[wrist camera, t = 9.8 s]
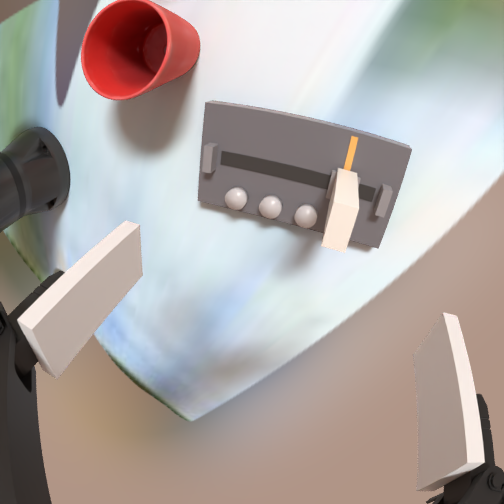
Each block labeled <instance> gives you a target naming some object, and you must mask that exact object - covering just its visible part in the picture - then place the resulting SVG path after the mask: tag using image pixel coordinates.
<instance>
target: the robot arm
mask: <svg viewBox="0 0 504 504" xmlns="http://www.w3.org/2000/svg"><path fill="white" fill-rule="evenodd" d="M69 183H70V176H69V168H68V163H67V159H66V156H65V153H64V151H63V149H62V147H61V145H60V143H59V141H58V140H57V139H56V137H55V136H54V135H53V134H52V133H51V132H50V131H48V130H47V129H45V128H42V127H34V128H32V129H29V130H26V131H24V132H23V133H21V134H20V135H19V136H18V137H17V138H15V139H14V140H13V141H12V142H11V143H10V144H9V145H8V146H7V147H6V148H5V149H4V150H3V151H1V152H0V232H1V231H3V230H4V229H6V228H7V227H8V226H10V225H11V224H13V223H14V222H16V221H17V220H19V219H20V218H22V217H23V216H26V215H31V214H35V213H40V212H45V211H49V210H52V209H54V208H55V207H57V206H58V205H60V204H61V203H62V202H63V201H64V200H65V198H66V196H67V194H68V190H69ZM142 275H143V273H142V258H141V240H140V225H139V224H135V223H132V222H129V221H124V222H123V223H122V224H121V225H119V226H118V227H117V228H116V229H115V230H113V231H112V232H111V233H110V234H109V235H107V236H106V237H105V238H104V239H103V240H101V241H100V242H99V243H98V244H97V245H96V246H94V247H93V248H92V249H91V250H90V251H89V252H88V253H86V254H85V255H84V256H83V257H82V258H81V259H80V260H79V261H77V262H76V263H75V264H74V265H73V266H72V267H71V268H70V269H69V270H68V271H66V272H63V271H59V272H57V273H55V274H53V275H51V276H49V277H48V278H47V279H46V280H45V281H43V282H42V283H41V284H40V286H38V287H37V288H36V289H35V290H34V292H33V293H31V294H30V295H29V296H28V297H27V298H26V299H25V300H23V301H22V302H21V303H20V304H19V306H17V307H16V308H15V310H13V311H12V312H11V313H10V314H9V315H7V313H6V311H5V309H4V307H3V305H2V303H1V302H0V504H52V503H51V500H50V494H49V490H48V485H47V480H46V474H45V469H44V463H43V456H42V450H41V443H40V433H39V424H38V411H37V394H36V371H35V367H34V365H35V364H36V363H37V362H39V364H40V365H41V367H42V369H43V370H44V371H45V372H47V373H48V374H50V375H51V376H53V377H54V378H56V379H58V378H59V376H61V374H62V373H63V372H64V370H65V369H66V368H67V366H68V365H69V363H71V361H72V360H73V359H74V357H75V356H76V355H77V354H78V352H79V351H80V350H81V348H82V347H83V346H84V345H85V343H86V342H87V341H88V340H89V338H90V337H91V336H92V335H93V334H94V332H95V331H96V330H97V329H98V327H99V326H100V325H101V324H102V322H103V321H104V320H105V319H106V318H107V316H108V315H109V314H110V313H111V312H112V310H113V309H114V308H115V307H116V306H117V304H118V303H119V302H120V301H121V300H122V299H123V297H124V296H125V295H126V294H127V293H128V292H129V290H130V289H131V288H132V287H133V286H134V285H135V283H136V282H137V281H138V280H139V279H140V278H141V277H142ZM413 357H414V368H415V379H416V393H417V414H418V474H417V477H418V478H417V491H434V490H437V489H439V488H440V487H442V486H444V492H443V493H441V494H439V495H437V496H435V497H432V498H430V499H429V500H428V501H426V503H427V504H428V503H430V502H433V501H434V502H433V504H504V472H503V470H502V469H501V468H499V467H498V466H495V461H494V451H493V442H492V435H491V430H490V421H489V420H488V419H489V415H488V408H487V405H486V403H485V401H484V399H483V397H482V395H481V394H476V392H475V387H474V382H473V377H472V372H471V368H470V363H469V359H468V355H467V351H466V347H465V343H464V339H463V335H462V332H461V328H460V325H459V321H458V318H457V316H455V315H451V314H448V313H444V312H443V313H442V315H441V316H440V318H439V319H438V321H437V322H436V324H435V325H434V326H433V328H432V329H431V331H430V332H429V334H428V335H427V336H426V338H425V339H424V341H423V342H422V343H421V345H420V346H419V348H418V349H417V350H416V351H415V353H414V354H413Z"/></svg>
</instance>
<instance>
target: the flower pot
mask: <svg viewBox="0 0 504 504" xmlns="http://www.w3.org/2000/svg"><path fill="white" fill-rule="evenodd" d="M199 52H200V39H199V35H198V33H197V31H196V30H195V28H194V27H193V26H192V25H191V24H190V23H188V22H187V21H186V20H184V19H183V18H181V17H179V16H178V15H176V14H174V13H172V12H171V11H169V10H167V9H165V8H163V7H161V6H159V5H157V4H155V3H153V2H151V1H149V0H117V1H115V2H113V3H111V4H109V5H108V6H106V7H105V8H104V9H102V10H101V11H100V12H99V13H98V14H97V15H96V17H95V18H94V19H93V21H92V22H91V24H90V25H89V27H88V29H87V31H86V33H85V36H84V39H83V43H82V50H81V63H82V69H83V72H84V75H85V78H86V80H87V82H88V83H89V85H90V86H91V87H92V89H93V90H94V91H95V92H97V93H98V94H99V95H101V96H103V97H105V98H108V99H112V100H128V99H131V98H134V97H137V96H140V95H142V94H144V93H146V92H149V91H151V90H153V89H155V88H157V87H159V86H161V85H163V84H165V83H167V82H169V81H171V80H173V79H175V78H178V77H180V76H182V75H183V74H185V73H186V72H188V71H189V70H190V69H191V68H192V66H193V65H194V64H195V62H196V60H197V58H198V56H199Z"/></svg>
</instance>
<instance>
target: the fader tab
mask: <svg viewBox="0 0 504 504" xmlns="http://www.w3.org/2000/svg"><path fill="white" fill-rule="evenodd" d="M360 180H361V178H360V177H357V173H355V172H352V171H348V170H345V169H341V168H338V171H335V170H332V174H331V179H330V183H329V187H328V191H327V195H326V198H328V199H330V202H329V207H328V213H327V219H326V224H325V229H324V235H323V240H322V245H321V246H323V247H326V248H330V249H334V250H337V251H341V252H344V253H345V251H346V248H347V245H348V242H349V239H350V236H351V233H352V230H353V227H354V224H355V220H356V217H357V214H358V211H359V195H358V187H359V184H360Z"/></svg>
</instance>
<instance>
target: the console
mask: <svg viewBox="0 0 504 504" xmlns="http://www.w3.org/2000/svg"><path fill="white" fill-rule="evenodd" d="M411 151H412V149H411V148H410V146H409V145H406V144H403V143H400V142H397V141H394V140H391V139H388V138H384V137H381V136H378V135H375V134H371V133H368V132H364V131H361V130H357V129H354V128H350V127H346V126H342V125H339V124H335V123H331V122H327V121H323V120H318V119H314V118H310V117H305V116H301V115H296V114H291V113H286V112H281V111H276V110H270V109H265V108H259V107H253V106H247V105H241V104H234V103H227V102H219V101H209V102H205V112H204V123H203V134H202V146H201V159H200V173H199V189H198V201H201V202H205V203H210V204H214V205H218V206H222V207H226V208H230V209H233V210H238V211H242V212H246V213H250V214H254V215H258V216H262V217H266V218H268V219H273V220H277V221H281V222H285V223H289V224H292V225H296V226H300V227H303V228H307V229H311V230H315V231H318V232H322V233H324V229H325V224H326V219H327V213H328V207H329V202H330V199H328V198H326V195H327V191H328V187H329V183H330V179H331V174H332V170H335V171H338V168H341V169H345V170H348V171H352V172H355V173H357V177H360V178H361V180H360V184H359V187H358V195H359V211H358V214H357V217H356V220H355V224H354V227H353V230H352V233H351V236H350V239H349V240H351V241H354V242H358V243H361V244H365V245H368V246H372V247H375V248H379V246H380V243H381V240H382V238H383V235H384V233H385V230H386V227H387V224H388V222H389V219H390V216H391V213H392V210H393V208H394V205H395V202H396V199H397V196H398V193H399V190H400V187H401V184H402V181H403V178H404V174H405V171H406V168H407V165H408V161H409V158H410V155H411Z"/></svg>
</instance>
